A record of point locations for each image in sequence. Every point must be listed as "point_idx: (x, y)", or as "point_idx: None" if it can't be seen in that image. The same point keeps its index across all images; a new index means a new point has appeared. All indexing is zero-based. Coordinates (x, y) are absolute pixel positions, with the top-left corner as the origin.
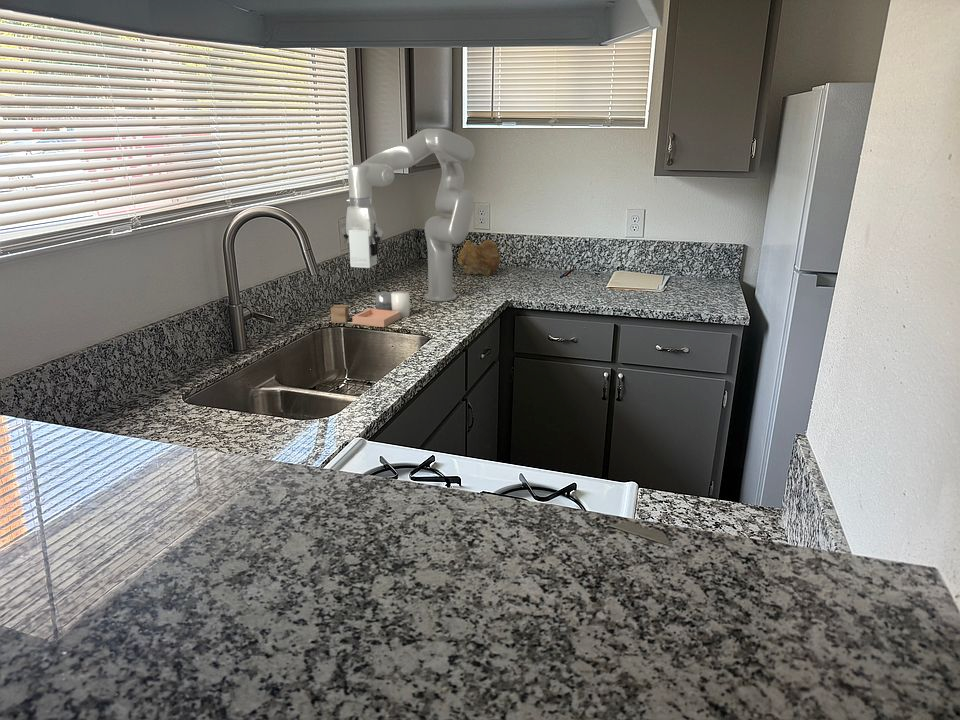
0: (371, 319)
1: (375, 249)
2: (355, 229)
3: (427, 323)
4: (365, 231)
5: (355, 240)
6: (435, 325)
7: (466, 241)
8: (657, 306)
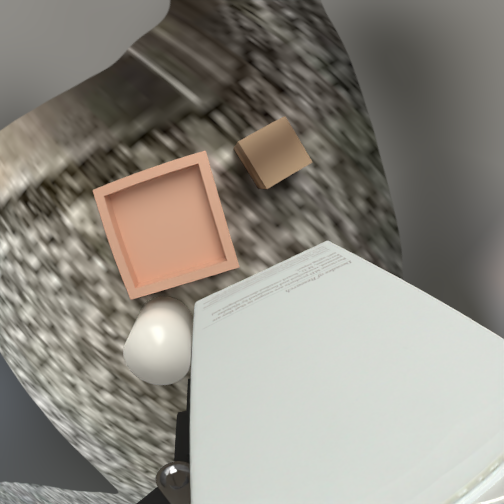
0: (134, 174)
1: (176, 432)
2: (495, 498)
3: (52, 298)
4: None
5: (393, 370)
6: (30, 295)
7: None
8: (5, 492)
